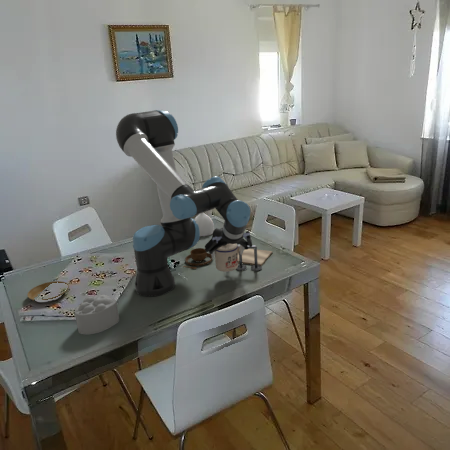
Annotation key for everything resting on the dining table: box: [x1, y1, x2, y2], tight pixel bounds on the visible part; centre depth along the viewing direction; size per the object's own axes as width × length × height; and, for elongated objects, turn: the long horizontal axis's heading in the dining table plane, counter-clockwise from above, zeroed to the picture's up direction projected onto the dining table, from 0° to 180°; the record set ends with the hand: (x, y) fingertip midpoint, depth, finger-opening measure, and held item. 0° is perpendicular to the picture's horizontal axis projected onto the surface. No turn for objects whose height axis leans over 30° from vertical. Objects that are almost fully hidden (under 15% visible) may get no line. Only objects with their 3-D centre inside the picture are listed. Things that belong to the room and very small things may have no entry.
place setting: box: [182, 247, 214, 270], centre depth 178 cm, size 18×20×6 cm
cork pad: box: [238, 248, 273, 267], centre depth 180 cm, size 14×14×1 cm
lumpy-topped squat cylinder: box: [74, 294, 120, 335], centre depth 137 cm, size 10×13×9 cm
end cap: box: [212, 227, 223, 237], centre depth 196 cm, size 10×7×7 cm
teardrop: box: [193, 212, 215, 237], centre depth 211 cm, size 11×11×12 cm
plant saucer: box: [26, 280, 70, 302], centre depth 159 cm, size 15×15×3 cm
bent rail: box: [235, 244, 263, 272], centre depth 169 cm, size 6×16×10 cm, turn 64°
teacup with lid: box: [214, 243, 239, 273], centre depth 160 cm, size 12×9×12 cm
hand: (226, 253), depth 164 cm, fingers closed on teacup with lid, 11 cm apart
